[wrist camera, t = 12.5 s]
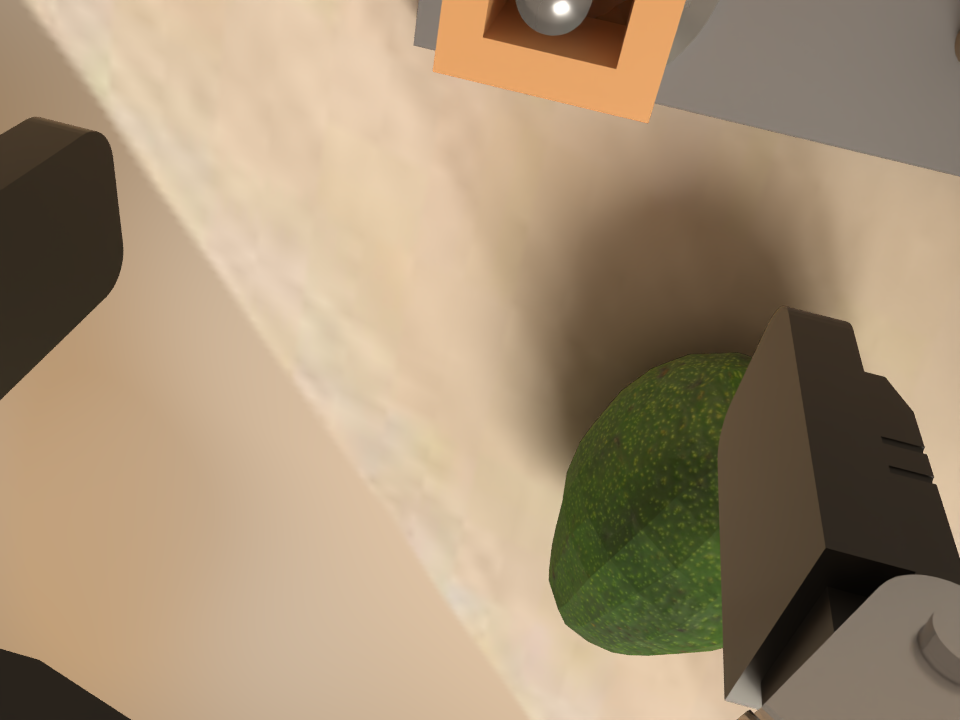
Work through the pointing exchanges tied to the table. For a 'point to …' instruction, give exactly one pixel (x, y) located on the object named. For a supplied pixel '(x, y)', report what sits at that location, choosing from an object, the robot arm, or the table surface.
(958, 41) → the stand rod
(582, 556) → the fruit
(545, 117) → the table surface
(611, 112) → the collar
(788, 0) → the board
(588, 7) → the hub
